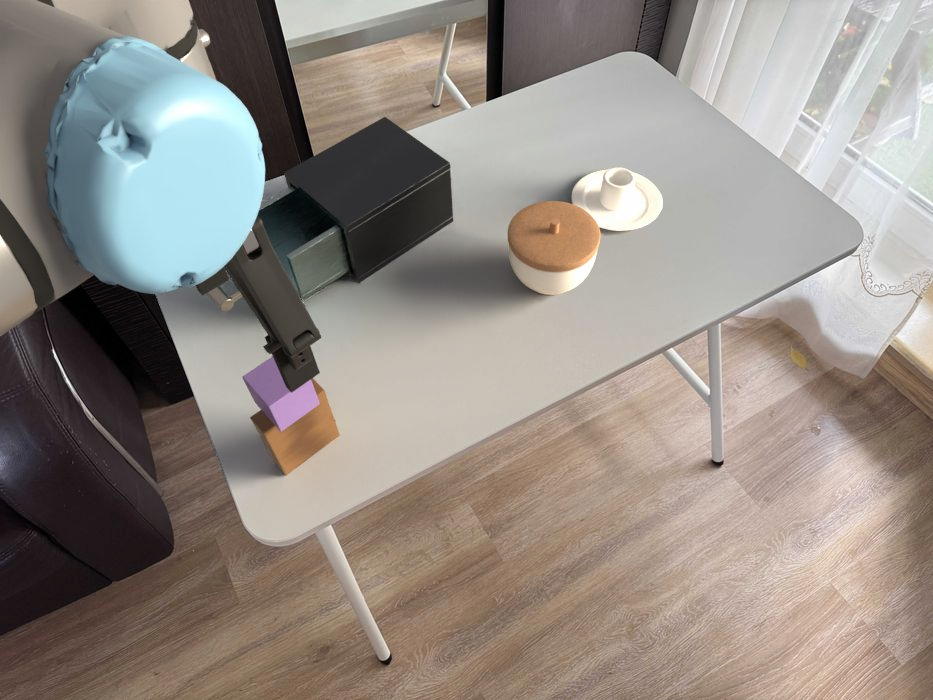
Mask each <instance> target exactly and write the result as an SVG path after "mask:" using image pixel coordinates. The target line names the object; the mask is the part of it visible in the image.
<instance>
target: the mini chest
mask: <svg viewBox="0 0 933 700" xmlns="http://www.w3.org/2000/svg"><path fill="white" fill-rule="evenodd" d="M283 175H284V178H285V182H286V185H287V189H288V188H290V187H292V186H295V187H296V188H297V189H298V190H299V191H301V192H302V193H303V194H304V195H305V196H306V197H308V198H309V199H310V200H311V201H312V202H313V203H315V204H316V205H317V206H318V207H319V208H320V209H322V210H323V211H324V212H325V213H326V214H327V215H329V216H330V217H331V218H332V219H333V220H334V221H335V222H337V223H338V224H339V225H340V226H341V227H342V228H344V233H345V237H346V242H347V246H348V250H349V255H350V259H351V263H352V268H353V269H352V270H350V271H349V272H347V273H346V274H348V275H350V276H351V277H352V278H353V279H354V280H355V281H356V282H358V284H360V283H363V282H364V281H365V280H367V279H368V278H369V277H371V276H372V275H374V274H376V273H377V272H378V271H380V270H382V269H383V268H385V267H386V266H387V265H389V264H391V263H392V262H394V261H395V260H397V259H398V258H400V257H402V256H403V255H405V254H406V253H408V252H409V251H410V250H412V249H414V248H415V247H417V246H418V245H420V244H421V243H423V242H424V241H425V240H428V238H431V237H432V236H433V235H435V234H436V233H438V232H439V231H441V230H442V229H445V228H446V227H447V226H449V225H451V223H453V222H454V211H453V210H454V209H453V191H452V190H453V189H452V176H451V163H450V162H449V160H447V159H446V158H444V157H443V156H442V155H440V154H439V153H437V152H436V151H434V150H433V149H431V148H430V147H428V146H427V145H426V144H424V143H423V142H421V141H420V140H419V139H417V138H416V137H414V136H413V135H412V134H410V133H409V132H407V131H406V130H404V129H403V128H402V127H401V126H399V125H398V124H397V123H395V122H393V121H392V120H390V119H389V118H387V117H386V116H383V117H381V118H380V119H378V120H376V121H375V122H372V123H371V124H369V125H367V126H366V127H364V128H362V129H360V130H358V131H356V132H355V133H353V134H351V135H349V136H347V137H346V138H343V139H342V140H340V141H339V142H336V143H334V144H333V145H332V146H330V147H327V148H326V149H324V150H322V151H320V152H318V153H317V154H315V155H313V156H311V157H310V158H308V159H306V160H304V161H302V162H301V163H299V164H297V165H295V166H293V167H291V168H290V169H288V170H286V171H284V172H283Z"/></svg>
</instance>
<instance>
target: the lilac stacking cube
mask: <svg viewBox="0 0 933 700" xmlns="http://www.w3.org/2000/svg"><path fill="white" fill-rule="evenodd" d="M241 378H242V380H243V382H244V384H245V386H246V388H247V390H248V391H249V394H250V396H251V398H252V400H253V401H254V403H255V404H256V406H257V407H258V408H259V410H262V411H263V412H264V413H265V415H266V416H267V417H268V418H269V419H270V420H271V422H272V423H273V424H274V425H275V426H276V427H277V428H278V430H279V431H280V432H282V431H283V430H284V429H286V428H287V427H289V426H290V425H291V424H293V423H294V422H296V421H297V420H298V419H300V418H301V417H303V416H304V415H305V414H307V413H308V412H310V411H311V410H312V409H314V408H315V407H316V406H318V405H319V404H320V403H319V400H318V398H317V395H316V392H315V390H314V387H313V384H312V381H311V380H309V381H308V382H306V383H305V384H303V385H302V386H301V387H299V388H298V389H296V390H295V391H293V392H292V393H291V392H290V391H289V389H288V388H287V387H286V385H285V383H284V381H283V379H282V376H281V374H280V372H279V369H278V367H277V365H276V362H275V360H274V358H273V356H270V358H268V359H266V360H265V361H264V362H262V363H260V364H259V365H257V366H256V367H254V368H253V369H251V370H250V371H248V372H247V373H245V374H244V375H243V376H242V377H241Z"/></svg>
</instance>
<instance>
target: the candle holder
mask: <svg viewBox="0 0 933 700" xmlns="http://www.w3.org/2000/svg"><path fill="white" fill-rule="evenodd" d="M571 204H573V205H576V206H578V207H580V208H582V209H584V210H585V211H587V212H588V213H589V214H590V215H591V216H592V217H593V218H594V219H595V221H596V222H597V224H598V226H599V229H604V230H608V231H615V232H626V231H634V230H638V229H641V228H644V227H646V226H647V225H650V224H651V223H653V221H654V220H656V219H657V217H658V216H659V215H660V213H661V211H662V210H663V196H662V194H661V192H660V190H659V189H658V187H657V186H656V185H655V183H653V182H652V181H651V180H649V179H648V178H647V177H644V176H643V175H640V174H639V173H636V172H633V171H631V170H629V169H627V168H624V167H619V166H618V167H611V168H608V169H607V168H606V169H600V170H595V171H593V172H590V173H588V174H586V175H585V176H583V177H582V178H580V179H579V180H578V181H577V182H576V183H575V185H574V186H573V188H572V192H571Z"/></svg>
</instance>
